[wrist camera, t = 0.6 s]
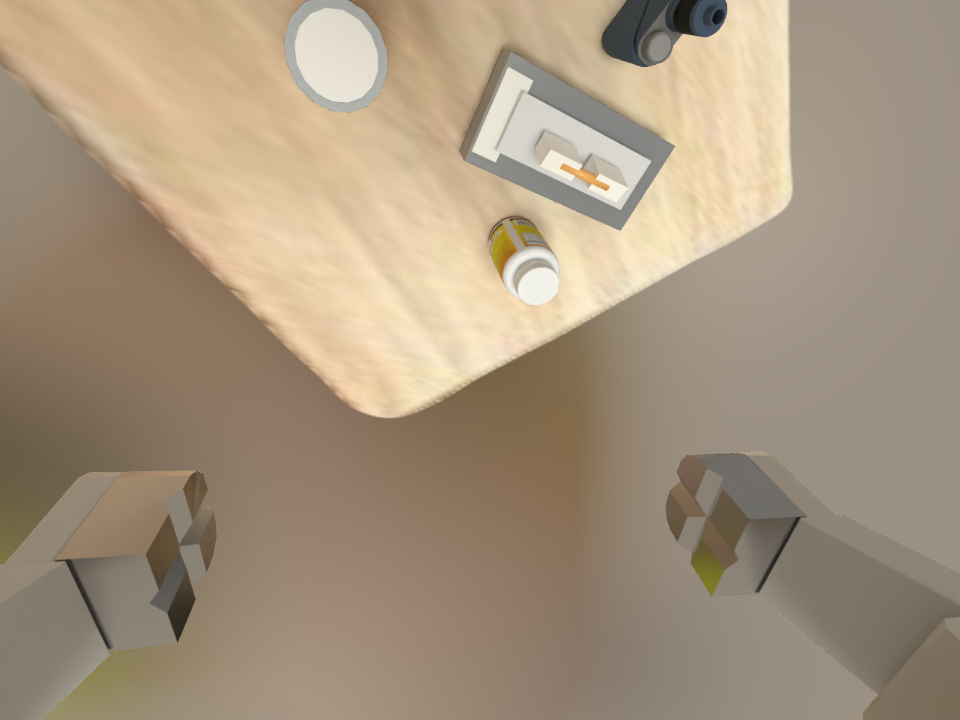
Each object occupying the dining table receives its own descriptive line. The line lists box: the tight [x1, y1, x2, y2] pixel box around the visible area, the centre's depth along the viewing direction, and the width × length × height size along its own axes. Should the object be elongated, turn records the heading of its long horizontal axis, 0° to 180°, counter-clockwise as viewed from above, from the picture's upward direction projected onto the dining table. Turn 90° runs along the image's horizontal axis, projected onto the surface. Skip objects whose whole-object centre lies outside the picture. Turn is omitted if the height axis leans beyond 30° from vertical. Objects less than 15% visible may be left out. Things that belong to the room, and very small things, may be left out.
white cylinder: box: [284, 0, 387, 113], centre depth 35 cm, size 7×7×7 cm
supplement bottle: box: [488, 217, 560, 305], centre depth 47 cm, size 6×6×10 cm
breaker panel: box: [460, 48, 675, 231], centre depth 44 cm, size 9×18×4 cm, turn 64°
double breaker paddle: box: [535, 131, 628, 203], centre depth 41 cm, size 2×8×3 cm, turn 64°
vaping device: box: [603, 0, 727, 67], centre depth 36 cm, size 3×5×12 cm, turn 141°
